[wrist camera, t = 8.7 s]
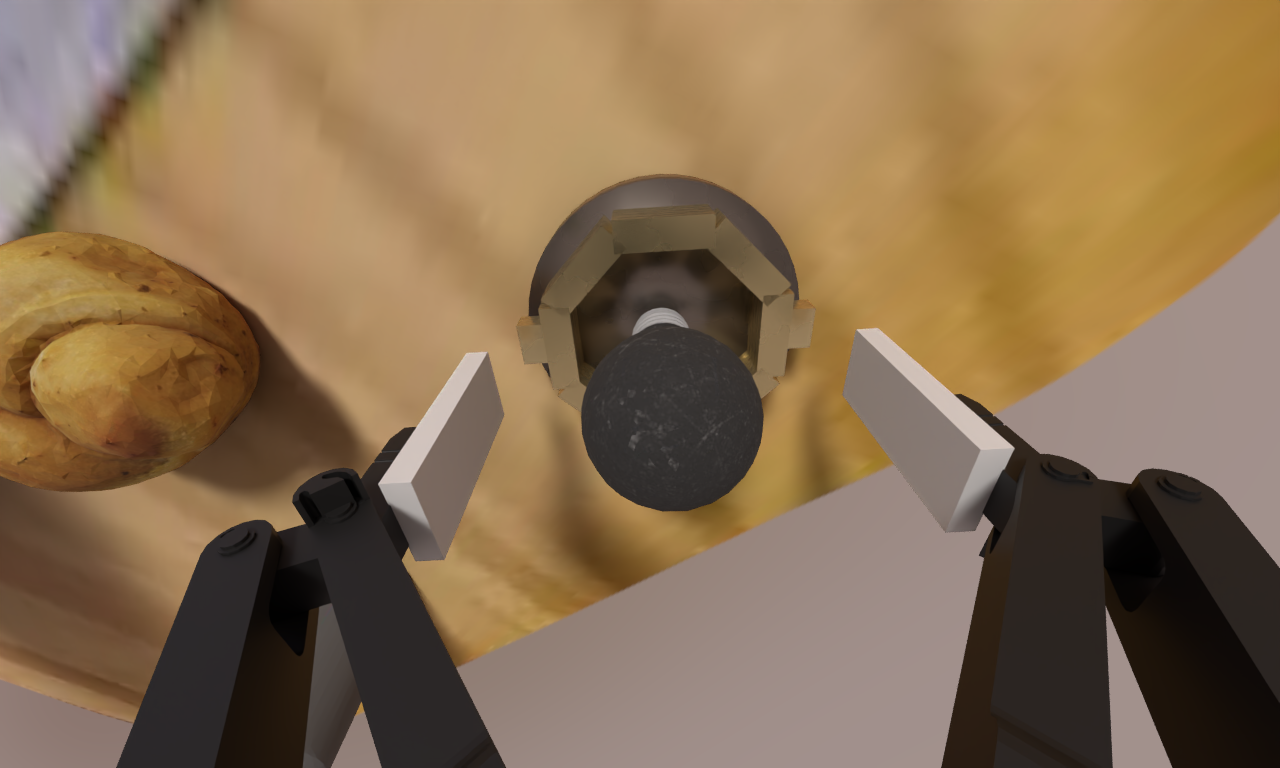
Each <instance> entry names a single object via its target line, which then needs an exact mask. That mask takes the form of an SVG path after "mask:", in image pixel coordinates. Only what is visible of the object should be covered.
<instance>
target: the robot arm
mask: <svg viewBox="0 0 1280 768" xmlns="http://www.w3.org/2000/svg"><path fill="white" fill-rule="evenodd" d="M843 396H844V398H845V399H846V400H847V402H848V403H849V404H850V406H851V407H852V408H853V410H854V411H855V412H856V414H857V415H858V416H859V418H860V419H861V420H862V422H863V423H864V424H865V426H866V427H867V428H868V430H869V431H870V432H871V434H872V435H873V436H874V438H875V439H876V440H877V442H878V443H879V444H880V446H881V447H882V448H883V450H884V451H885V452H886V454H887V455H888V456H889V458H890V459H891V460H892V462H893V463H894V464H895V466H896V467H897V468H898V470H899V471H900V473H901V474H902V475H903V477H904V478H905V479H906V480H907V482H908V483H909V485H910V486H911V487H912V489H913V490H914V491H915V493H916V494H917V495H918V496H919V498H920V499H921V501H922V502H923V503H924V505H925V506H926V507H927V509H928V510H929V511H930V513H931V514H932V515H933V517H934V518H935V519H936V520H937V522H938V523H939V524H940V526H941V527H942V528H943V530H944V531H945V532H964V531H975V530H976V528H977V526H978V524H979V522H980V520H981V517H982V515H983V514H984V515H985V516H986V517H987V518H988V520H989V521H990V522H991V523H992V524H993V525H994V526H993V528H992V530H991V532H990V534H989V536H988V538H987V540H986V542H985V544H984V546H983V548H982V550H981V552H980V554H979V556H981V557H983V558H984V561H983V567H982V571H981V576H980V581H979V586H978V591H977V596H976V601H975V605H974V610H973V615H972V620H971V625H970V630H969V635H968V640H967V644H966V649H965V654H964V660H963V664H962V669H961V674H960V679H959V684H958V688H957V694H956V698H955V703H954V708H953V713H952V718H951V723H950V728H949V733H948V738H947V742H946V747H945V752H944V757H943V762H942V767H941V768H1113V766H1112V742H1111V720H1110V699H1109V676H1108V653H1107V631H1106V609H1105V605H1106V607H1107V610H1108V612H1109V615H1110V617H1111V619H1112V622H1113V624H1114V626H1115V629H1116V632H1117V634H1118V636H1119V639H1120V641H1121V644H1122V646H1123V649H1124V651H1125V654H1126V656H1127V658H1128V661H1129V663H1130V666H1131V668H1132V671H1133V673H1134V675H1135V678H1136V680H1137V683H1138V685H1139V687H1140V690H1141V692H1142V695H1143V697H1144V700H1145V702H1146V704H1147V707H1148V709H1149V712H1150V714H1151V717H1152V719H1153V722H1154V724H1155V726H1156V729H1157V731H1158V734H1159V736H1160V739H1161V741H1162V743H1163V746H1164V748H1165V751H1166V753H1167V756H1168V758H1169V760H1170V763H1171V765H1172V768H1280V568H1279V567H1278V566H1277V564H1276V563H1275V562H1274V560H1273V559H1272V558H1271V557H1270V556H1269V554H1268V553H1267V552H1266V550H1265V549H1264V548H1263V547H1262V546H1261V544H1260V543H1259V542H1258V541H1257V539H1256V538H1255V537H1254V536H1253V534H1252V533H1251V532H1250V531H1249V530H1248V528H1247V527H1246V526H1245V525H1244V523H1243V522H1242V521H1241V520H1240V518H1239V517H1238V516H1237V515H1236V513H1235V512H1234V511H1233V510H1232V509H1231V507H1230V506H1229V505H1228V504H1227V502H1226V501H1225V500H1224V499H1223V497H1221V496H1220V495H1219V494H1218V493H1217V492H1216V491H1215V490H1214V489H1212V488H1210V487H1209V486H1207V485H1205V484H1203V483H1202V482H1200V481H1199V480H1197V479H1195V478H1192V477H1188V476H1187V475H1184V474H1182V473H1176V472H1172V471H1168V470H1162V469H1146V470H1142V471H1141V472H1140V473H1139V474H1138V475H1137V477H1136V478H1135V479H1134V481H1133V482H1132V484H1127V483H1121V482H1114V481H1107V480H1100V479H1098V478H1097V477H1096V476H1095V475H1094V474H1093V473H1092V472H1091V471H1090V470H1089V469H1087V468H1086V467H1084V466H1082V465H1080V464H1079V463H1077V462H1074V461H1072V460H1069V459H1067V458H1064V457H1060V456H1055V455H1050V454H1039V453H1038V452H1037V451H1036V450H1035V449H1034V448H1032V447H1031V446H1030V445H1029V444H1028V443H1026V442H1025V441H1024V440H1023V439H1022V438H1020V437H1019V436H1018V435H1017V434H1016V433H1014V432H1013V431H1012V430H1011V429H1010V428H1008V427H1007V426H1006V425H1005V426H1004V425H1003V423H1002V422H1001V421H1000V420H999V419H998V418H997V417H995V416H993V414H992V413H991V412H989V411H988V410H987V409H986V408H985V407H983V406H982V405H981V404H980V403H978V402H976V401H974V400H972V399H970V398H968V397H966V396H964V395H962V394H955V395H954V394H952V393H951V392H950V391H949V390H948V389H947V388H946V387H944V386H943V385H942V384H941V383H940V382H939V381H938V380H936V379H935V378H934V377H933V376H932V375H931V374H930V373H928V372H927V371H926V370H925V369H924V368H923V367H922V366H920V365H919V364H918V363H917V362H916V361H915V360H914V359H912V358H911V357H910V356H909V355H908V354H907V353H906V352H904V351H903V350H902V349H901V348H900V347H899V346H898V345H896V344H895V343H894V342H893V341H892V340H891V339H890V338H888V337H887V336H886V335H885V334H884V333H883V332H882V331H880V330H879V329H878V328H873V329H856V332H855V337H854V342H853V347H852V352H851V356H850V361H849V366H848V371H847V376H846V381H845V385H844V390H843ZM503 417H504V412H503V408H502V404H501V400H500V396H499V393H498V389H497V385H496V381H495V377H494V373H493V370H492V366H491V362H490V358H489V354H488V352H476V353H466V355H465V356H464V358H463V359H462V361H461V362H460V364H459V365H458V367H457V368H456V370H455V371H454V373H453V374H452V376H451V377H450V378H449V380H448V381H447V383H446V384H445V386H444V387H443V389H442V390H441V392H440V393H439V395H438V396H437V398H436V399H435V401H434V402H433V404H432V405H431V407H430V408H429V410H428V411H427V413H426V414H425V416H424V417H423V418H422V420H421V421H420V423H419V424H418V426H417V427H409V428H404V429H402V430H401V431H400V432H399V433H397V434H396V435H395V436H393V437H392V438H391V439H390V440H389V441H388V443H387V444H386V445H385V447H384V448H383V449H382V453H380V454H379V455H378V456H377V458H376V459H375V460H374V461H375V463H372V464H371V466H370V467H369V469H368V470H367V471H366V473H365V474H364V475H363V477H362V478H361V480H360V478H359V476H358V474H357V473H356V472H355V471H354V470H353V469H348V468H339V469H332V470H329V471H326V472H323V473H320V474H318V475H317V476H315V477H313V478H311V479H309V480H308V481H306V482H305V483H304V484H303V485H301V486H300V487H299V488H298V490H297V491H296V492H295V494H294V495H293V501H292V503H293V504H294V506H295V507H296V509H297V511H298V512H299V514H300V515H301V517H302V518H303V520H304V522H305V523H306V524H304V525H300V526H297V527H293V528H290V529H286V530H283V531H279V532H276V531H275V529H274V528H273V526H272V525H271V524H270V523H269V522H267V521H266V520H253V521H249V522H244V523H241V524H239V525H237V526H234V527H232V528H230V529H228V530H226V531H225V532H223V533H221V534H220V535H218V536H217V537H216V538H215V539H214V540H212V541H211V542H210V543H209V544H208V545H207V546H206V547H205V549H204V550H203V552H202V553H201V555H200V558H199V560H198V563H197V565H196V568H195V570H194V573H193V575H192V578H191V580H190V583H189V585H188V588H187V590H186V593H185V596H184V598H183V601H182V603H181V606H180V608H179V611H178V613H177V616H176V618H175V621H174V623H173V626H172V628H171V631H170V633H169V636H168V638H167V641H166V643H165V646H164V648H163V651H162V654H161V656H160V659H159V661H158V664H157V666H156V669H155V671H154V674H153V676H152V679H151V681H150V684H149V686H148V689H147V691H146V694H145V696H144V699H143V701H142V704H141V707H140V709H139V712H138V714H137V717H136V719H135V722H134V724H133V727H132V729H131V732H130V735H129V737H128V739H127V742H126V744H125V747H124V750H123V752H122V754H121V757H120V760H119V762H118V765H117V767H116V768H303V760H304V750H305V741H306V731H307V722H308V712H309V702H310V693H311V683H312V674H313V664H314V655H315V645H316V636H317V626H318V616H319V607H321V606H324V605H327V604H330V603H332V606H333V609H334V613H335V616H336V619H337V622H338V626H339V629H340V632H341V636H342V639H343V642H344V645H345V649H346V652H347V655H348V658H349V662H350V665H351V668H352V672H353V675H354V678H355V681H356V685H357V688H358V691H359V694H360V698H361V701H362V704H363V708H364V711H365V714H366V717H367V720H368V724H369V727H370V730H371V734H372V737H373V740H374V744H375V747H376V750H377V753H378V756H379V760H380V763H381V766H382V768H506V767H505V764H504V763H503V761H502V759H501V757H500V755H499V753H498V751H497V749H496V747H495V745H494V743H493V741H492V739H491V737H490V735H489V733H488V731H487V729H486V727H485V725H484V723H483V721H482V719H481V717H480V715H479V713H478V711H477V709H476V707H475V705H474V703H473V701H472V699H471V697H470V695H469V693H468V691H467V689H466V687H465V685H464V683H463V681H462V679H461V677H460V675H459V673H458V671H457V669H456V667H455V665H454V663H453V661H452V659H451V657H450V655H449V653H448V651H447V649H446V647H445V645H444V643H443V641H442V639H441V637H440V635H439V633H438V631H437V630H436V628H435V626H434V624H433V622H432V620H431V618H430V616H429V614H428V612H427V610H426V608H425V606H424V604H423V602H422V600H421V598H420V596H419V594H418V592H417V590H416V588H415V586H414V584H413V582H412V580H411V578H410V576H409V574H408V572H407V570H406V568H405V566H404V564H403V562H402V558H403V556H404V554H405V552H406V550H407V549H408V547H409V549H410V551H411V553H412V555H413V557H414V559H415V561H429V560H444V559H445V557H446V554H447V552H448V550H449V547H450V545H451V542H452V540H453V538H454V535H455V533H456V530H457V528H458V525H459V523H460V521H461V518H462V516H463V513H464V511H465V509H466V506H467V504H468V501H469V499H470V496H471V494H472V492H473V489H474V487H475V484H476V482H477V480H478V477H479V475H480V472H481V470H482V467H483V465H484V463H485V460H486V458H487V455H488V453H489V451H490V448H491V446H492V443H493V441H494V438H495V436H496V434H497V431H498V429H499V426H500V424H501V422H502V419H503Z"/></svg>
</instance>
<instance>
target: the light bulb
mask: <svg viewBox="0 0 1280 768" xmlns="http://www.w3.org/2000/svg"><path fill="white" fill-rule="evenodd" d="M763 418H764V416H763V409H762V402H761V397H760V394H759V390H758V388H757V386H756V384H755V381H754V379H753V376H752V374H751V373H750V371H749V370H748V369H747V367H746V366H745V364H744V363H743V362H742V361H741V360H740V359H739V357H738V356H737V355H736V354H735V353H734V352H733V351H732V350H731V349H730V348H729V347H728V346H727V345H725V344H723V343H721V342H720V341H718V340H716V339H715V338H713V337H711V336H710V335H708V334H705V333H702V332H700V331H698V330H694V329H690V328H689V327H688V325H687V323H686V322H685V320H684V318H683V317H682V316H681V315H680V314H679V313H677V312H676V311H674V310H671V309H668V308H656V309H652V310H650V311H648V312H646V313H644V314H643V315H642V316H641V317H640V318H639V319H638V321H637V323H636V325H635V327H634V329H633V334H632V336H631V337H629V338H627V339H626V340H624V341H622V342H621V343H620V344H619V345H617V346H616V347H615V348H614V349H613V350H612V351H610V352H609V353H608V354H607V355H606V356H605V357H604V358H603V359H602V361H601V362H600V363H599V365H598V366H597V367H596V369H595V370H594V372H593V375H592V377H591V379H590V381H589V383H588V385H587V388H586V391H585V393H584V397H583V402H582V407H581V420H582V435H583V439H584V442H585V446H586V450H587V453H588V456H589V457H590V459H591V461H592V463H593V464H594V466H595V468H596V469H597V471H598V472H599V474H600V475H601V476H602V478H603V479H604V480H605V482H606V483H607V484H608V485H609V486H610V487H611V488H613V489H614V490H615V491H616V492H617V493H619V494H620V495H621V496H623V497H625V498H626V499H628V500H630V501H632V502H634V503H636V504H638V505H641V506H645V507H648V508H652V509H656V510H659V511H688V510H692V509H695V508H698V507H701V506H704V505H707V504H711V503H713V502H715V501H716V500H717V499H719V498H721V497H722V496H724V495H726V494H727V493H729V492H730V491H731V490H732V489H733V488H734V487H735V486H736V485H737V484H738V483H739V482H740V481H741V480H742V479H743V478H744V476H745V475H746V473H747V471H748V470H749V468H750V467H751V465H752V464H753V462H754V459H755V457H756V455H757V452H758V449H759V446H760V443H761V438H762V431H763Z"/></svg>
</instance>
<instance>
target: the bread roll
mask: <svg viewBox="0 0 1280 768" xmlns="http://www.w3.org/2000/svg"><path fill="white" fill-rule="evenodd" d="M259 370H260V350H259V345H258V344H257V343H256V341H255V340H254V337H253V334H252V332H251V330H250V328H249V327H248V325H247V323H246V322H245V320H244V318H243V317H242V315H241V314H240V312H239V311H238V310H237V309H235V308H234V307H233V306H232V305H231V304H230V303H229V302H228V301H227V299H226V298H225V297H224V296H223V295H222V294H221V293H220V292H218V291H217V290H215V289H213V288H212V287H211V286H210V285H209V284H208V283H206V282H205V281H203V280H202V279H200V278H198V277H197V276H195V275H194V274H192V273H191V272H189V271H188V270H186V269H184V268H183V267H181V266H179V265H177V264H175V263H173V262H171V261H169V260H167V259H166V258H163V257H161V256H159V255H157V254H155V253H153V252H152V251H150V250H149V249H147V248H145V247H142V246H140V245H137V244H134V243H131V242H127V241H124V240H121V239H117V238H114V237H110V236H106V235H102V234H90V233H75V232H50V233H43V234H38V235H33V236H28V237H23V238H21V239H19V240H15V241H10V242H7V243H5V244H2V245H0V476H2V477H4V478H6V479H9V480H12V481H15V482H18V483H21V484H24V485H27V486H30V487H34V488H40V489H46V490H53V491H65V492H83V491H102V490H110V489H116V488H121V487H125V486H129V485H133V484H137V483H140V482H143V481H146V480H148V479H151V478H154V477H157V476H160V475H162V474H165V473H167V472H170V471H172V470H175V469H177V468H179V467H181V466H183V465H184V464H186V463H187V462H189V461H190V460H191V459H193V458H194V457H195V456H196V455H198V454H199V453H201V452H202V451H203V450H204V449H206V448H207V447H208V446H209V445H211V444H213V443H214V442H215V441H216V440H217V439H218V438H219V436H220V435H221V434H222V433H223V432H224V431H225V430H226V429H227V428H228V427H229V426H230V425H231V424H232V423H233V421H234V420H235V419H236V418H237V417H238V416H239V414H240V413H241V412H242V411H243V409H244V408H245V406H246V405H247V404H248V402H249V400H250V398H251V396H252V394H253V392H254V389H255V387H256V385H257V382H258V376H259Z"/></svg>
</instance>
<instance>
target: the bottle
mask: <svg viewBox="0 0 1280 768" xmlns="http://www.w3.org/2000/svg"><path fill="white" fill-rule="evenodd" d="M360 703H361V698H360V694H359V691H358V688H357V685H356V681H355V678H354V675H353V672H352V668H351V665H350V662H349V658H348V655H347V652H346V649H345V645H344V642H343V639H342V636H341V632H340V629H339V626H338V622H337V619H336V616H335V613H334V609H333V606H332V603H330V604H327V605H324V606H321V607H319V616H318V626H317V636H316V645H315V655H314V664H313V674H312V683H311V693H310V702H309V712H308V722H307V731H306V741H305V750H304V760H303V768H331V766H332V764H333V761H334V759H335V757H336V755H337V753H338V751H339V749H340V746H341V744H342V742H343V740H344V738H345V736H346V733H347V731H348V729H349V727H350V725H351V723H352V721H353V718H354V716H355V714H356V712H357V710H358V708H359V705H360Z"/></svg>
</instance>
